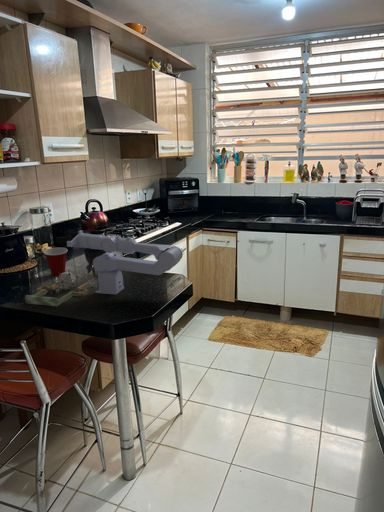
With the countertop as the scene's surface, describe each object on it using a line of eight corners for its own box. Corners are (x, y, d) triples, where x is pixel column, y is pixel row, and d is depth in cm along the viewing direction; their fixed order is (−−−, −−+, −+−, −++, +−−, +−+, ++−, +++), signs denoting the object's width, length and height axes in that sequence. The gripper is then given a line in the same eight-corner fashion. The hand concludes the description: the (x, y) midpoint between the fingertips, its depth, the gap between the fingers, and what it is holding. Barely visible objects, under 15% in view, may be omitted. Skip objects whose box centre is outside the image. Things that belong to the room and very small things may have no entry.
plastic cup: (51, 279, 171) (48, 254, 168) (43, 274, 179) (39, 250, 176) (74, 274, 178) (71, 249, 175) (65, 269, 186) (62, 246, 183)
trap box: (97, 286, 159) (96, 280, 159) (66, 307, 139) (65, 299, 138) (53, 283, 166) (52, 277, 165) (17, 302, 146) (16, 295, 145)
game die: (69, 295, 161) (73, 273, 164) (79, 293, 155) (83, 270, 159) (49, 290, 155) (54, 268, 159) (59, 287, 149) (64, 264, 153)
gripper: (100, 228, 156) (72, 225, 160) (80, 235, 143) (50, 232, 147) (100, 244, 158) (73, 241, 162) (81, 253, 145) (51, 249, 149)
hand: (62, 238), depth 154 cm, fingers open, 7 cm apart
